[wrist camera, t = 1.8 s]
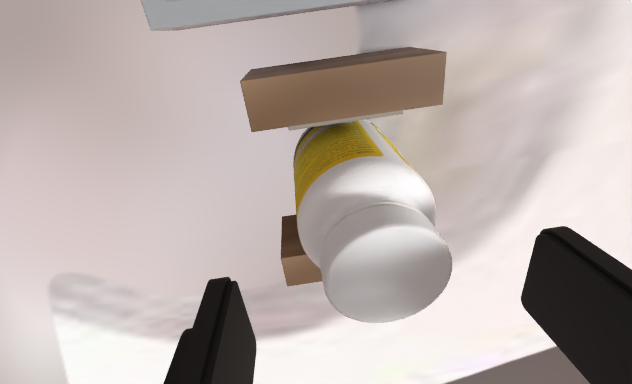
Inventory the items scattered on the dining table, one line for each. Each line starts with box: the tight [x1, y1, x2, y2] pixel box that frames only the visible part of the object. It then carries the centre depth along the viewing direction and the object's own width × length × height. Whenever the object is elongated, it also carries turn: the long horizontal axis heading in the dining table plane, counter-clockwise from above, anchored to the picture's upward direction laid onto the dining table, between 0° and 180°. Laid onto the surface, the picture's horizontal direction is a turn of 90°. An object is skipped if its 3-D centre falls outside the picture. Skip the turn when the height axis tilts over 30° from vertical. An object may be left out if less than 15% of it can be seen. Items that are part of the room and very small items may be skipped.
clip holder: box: [240, 47, 446, 286], centre depth 16 cm, size 11×8×4 cm
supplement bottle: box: [294, 119, 452, 323], centre depth 13 cm, size 5×5×10 cm
